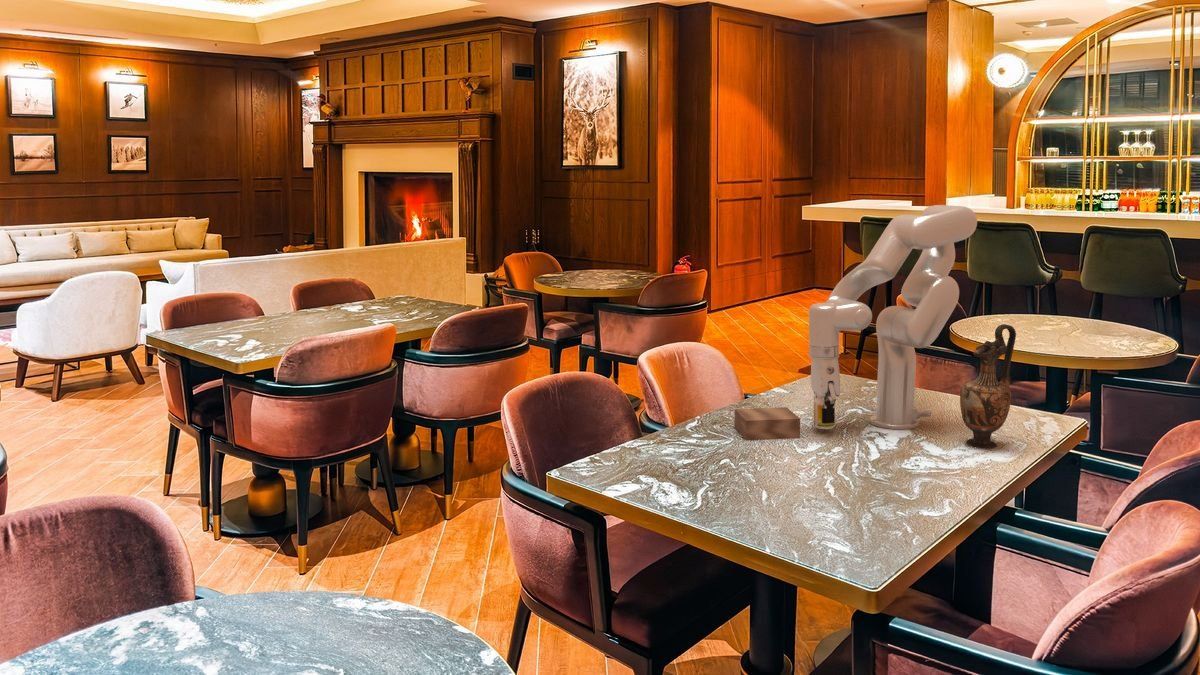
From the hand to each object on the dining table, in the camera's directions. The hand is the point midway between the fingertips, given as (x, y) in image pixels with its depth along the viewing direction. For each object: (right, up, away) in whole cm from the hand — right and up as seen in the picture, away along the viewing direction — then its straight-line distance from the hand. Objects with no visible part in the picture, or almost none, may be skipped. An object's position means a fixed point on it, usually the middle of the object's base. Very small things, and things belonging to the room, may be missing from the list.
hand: (824, 419), depth 247 cm
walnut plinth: (-15, -3, 0) cm, 15 cm away
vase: (+36, -6, -13) cm, 39 cm away
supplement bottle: (0, -2, 0) cm, 2 cm away
